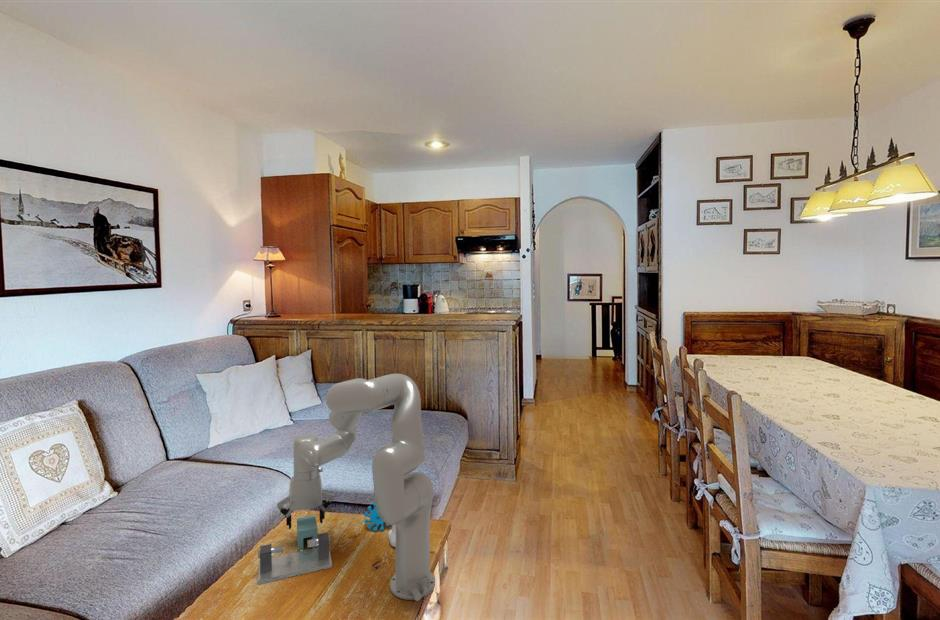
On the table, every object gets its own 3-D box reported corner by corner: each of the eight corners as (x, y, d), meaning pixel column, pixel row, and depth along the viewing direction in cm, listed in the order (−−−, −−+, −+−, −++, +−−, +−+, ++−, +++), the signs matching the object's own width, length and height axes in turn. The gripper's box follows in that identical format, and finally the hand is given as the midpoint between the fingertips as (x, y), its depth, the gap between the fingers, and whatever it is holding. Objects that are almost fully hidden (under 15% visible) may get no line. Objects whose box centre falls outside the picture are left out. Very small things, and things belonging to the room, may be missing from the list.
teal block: (315, 533, 151) (315, 514, 151) (317, 547, 143) (317, 527, 143) (297, 536, 149) (296, 517, 149) (298, 551, 141) (298, 531, 140)
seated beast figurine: (416, 536, 150) (416, 501, 150) (411, 551, 142) (411, 514, 141) (389, 534, 151) (389, 499, 150) (382, 549, 142) (382, 512, 142)
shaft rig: (332, 567, 133) (331, 543, 133) (258, 584, 125) (257, 559, 125) (328, 549, 142) (328, 527, 142) (259, 564, 134) (258, 541, 134)
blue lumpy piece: (360, 528, 152) (368, 498, 158) (361, 533, 156) (369, 503, 163) (392, 533, 151) (398, 503, 158) (392, 538, 156) (399, 508, 162)
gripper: (332, 465, 152) (331, 513, 153) (277, 472, 145) (277, 523, 146) (334, 474, 145) (334, 524, 146) (277, 482, 138) (277, 535, 139)
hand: (305, 524), depth 146 cm, fingers open, 9 cm apart
